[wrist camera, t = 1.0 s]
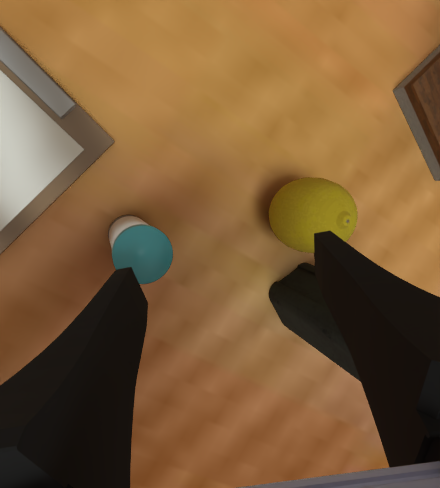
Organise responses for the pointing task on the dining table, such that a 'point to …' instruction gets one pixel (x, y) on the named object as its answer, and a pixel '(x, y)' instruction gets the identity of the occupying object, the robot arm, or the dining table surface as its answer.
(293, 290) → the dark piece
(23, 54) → the clipboard
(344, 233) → the lemon
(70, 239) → the dining table surface
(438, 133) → the white tiered tower model
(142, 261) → the marker
